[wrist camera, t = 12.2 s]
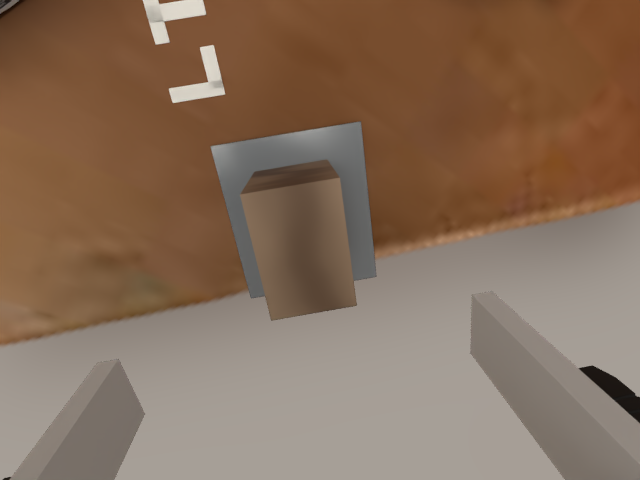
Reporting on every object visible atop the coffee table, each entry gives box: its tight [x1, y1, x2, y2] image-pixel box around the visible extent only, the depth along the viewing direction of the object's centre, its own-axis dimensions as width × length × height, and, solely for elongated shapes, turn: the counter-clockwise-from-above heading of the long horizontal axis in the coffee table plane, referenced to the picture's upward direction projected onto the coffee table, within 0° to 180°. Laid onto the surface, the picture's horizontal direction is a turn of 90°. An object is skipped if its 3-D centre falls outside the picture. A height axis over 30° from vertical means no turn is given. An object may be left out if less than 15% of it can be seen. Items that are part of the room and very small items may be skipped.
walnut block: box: [240, 159, 357, 320], centre depth 25 cm, size 6×9×8 cm, turn 9°
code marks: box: [143, 0, 225, 103], centre depth 24 cm, size 4×8×1 cm, turn 9°
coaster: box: [211, 121, 376, 298], centre depth 29 cm, size 12×14×1 cm
